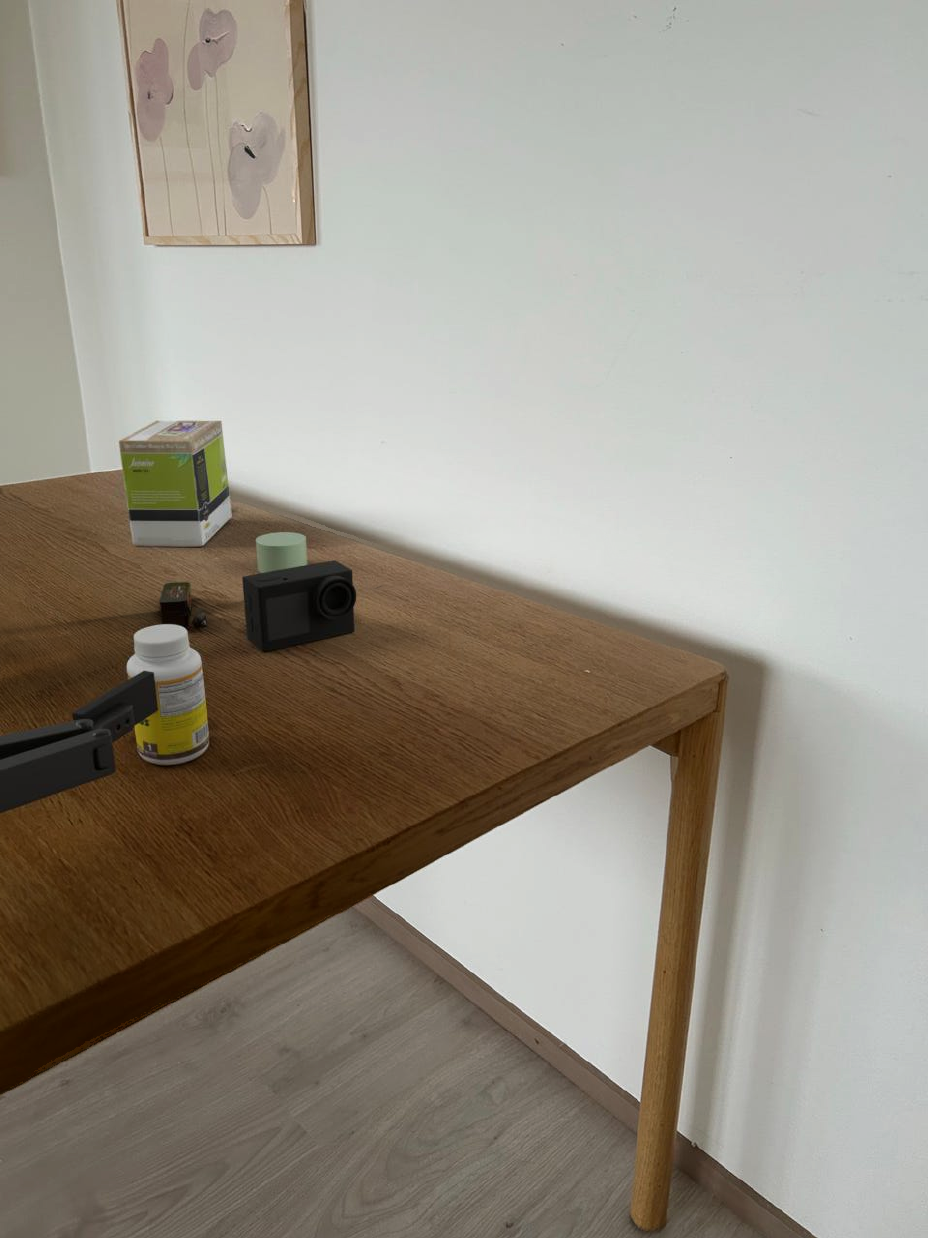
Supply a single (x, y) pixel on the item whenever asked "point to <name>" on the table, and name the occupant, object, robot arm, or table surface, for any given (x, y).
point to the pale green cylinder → (280, 551)
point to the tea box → (176, 482)
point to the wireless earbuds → (179, 606)
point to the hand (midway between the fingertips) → (68, 674)
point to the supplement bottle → (171, 696)
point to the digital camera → (299, 604)
